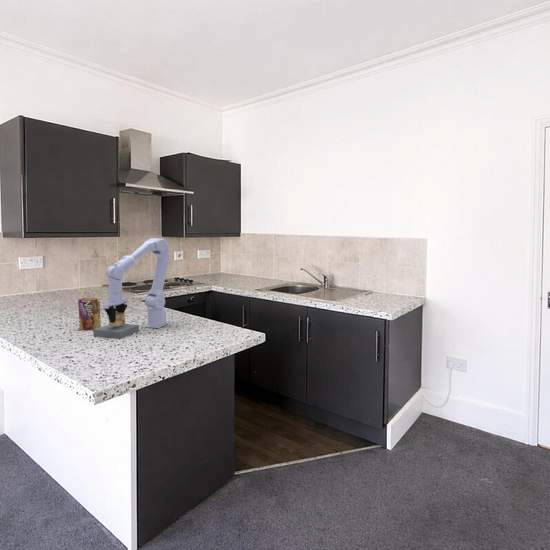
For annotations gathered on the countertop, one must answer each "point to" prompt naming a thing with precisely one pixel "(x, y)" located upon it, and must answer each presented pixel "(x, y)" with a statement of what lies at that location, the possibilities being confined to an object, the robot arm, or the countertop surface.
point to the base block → (116, 331)
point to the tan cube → (118, 319)
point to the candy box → (89, 313)
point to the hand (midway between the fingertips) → (116, 321)
